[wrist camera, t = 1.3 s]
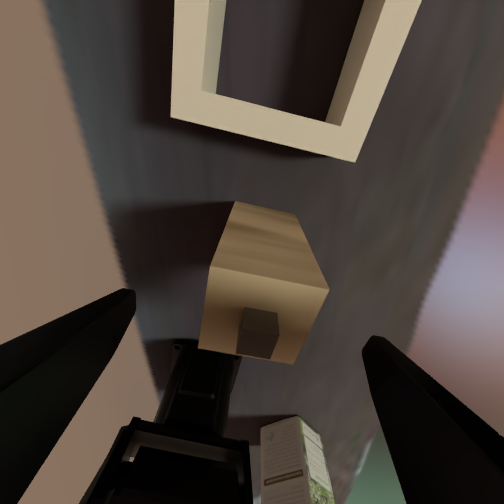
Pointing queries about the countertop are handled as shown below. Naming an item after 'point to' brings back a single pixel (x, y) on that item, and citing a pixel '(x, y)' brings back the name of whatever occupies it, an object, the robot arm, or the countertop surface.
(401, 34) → the cream square ring
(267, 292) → the wooden peg
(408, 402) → the robot arm
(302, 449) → the syrup box
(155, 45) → the countertop surface
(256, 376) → the countertop surface
